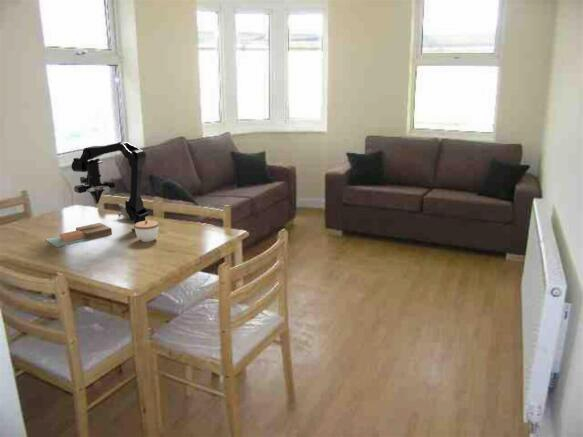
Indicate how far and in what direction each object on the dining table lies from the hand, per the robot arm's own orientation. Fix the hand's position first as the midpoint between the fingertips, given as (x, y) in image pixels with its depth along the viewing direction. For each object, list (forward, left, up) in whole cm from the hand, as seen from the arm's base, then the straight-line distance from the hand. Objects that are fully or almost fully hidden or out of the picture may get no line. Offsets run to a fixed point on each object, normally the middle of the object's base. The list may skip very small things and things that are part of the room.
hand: (97, 203), depth 269 cm
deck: (-10, +7, -12) cm, 17 cm away
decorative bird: (+2, -17, -12) cm, 21 cm away
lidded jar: (-36, -8, -12) cm, 39 cm away
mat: (-10, +20, -12) cm, 26 cm away
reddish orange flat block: (-10, +18, -12) cm, 24 cm away
